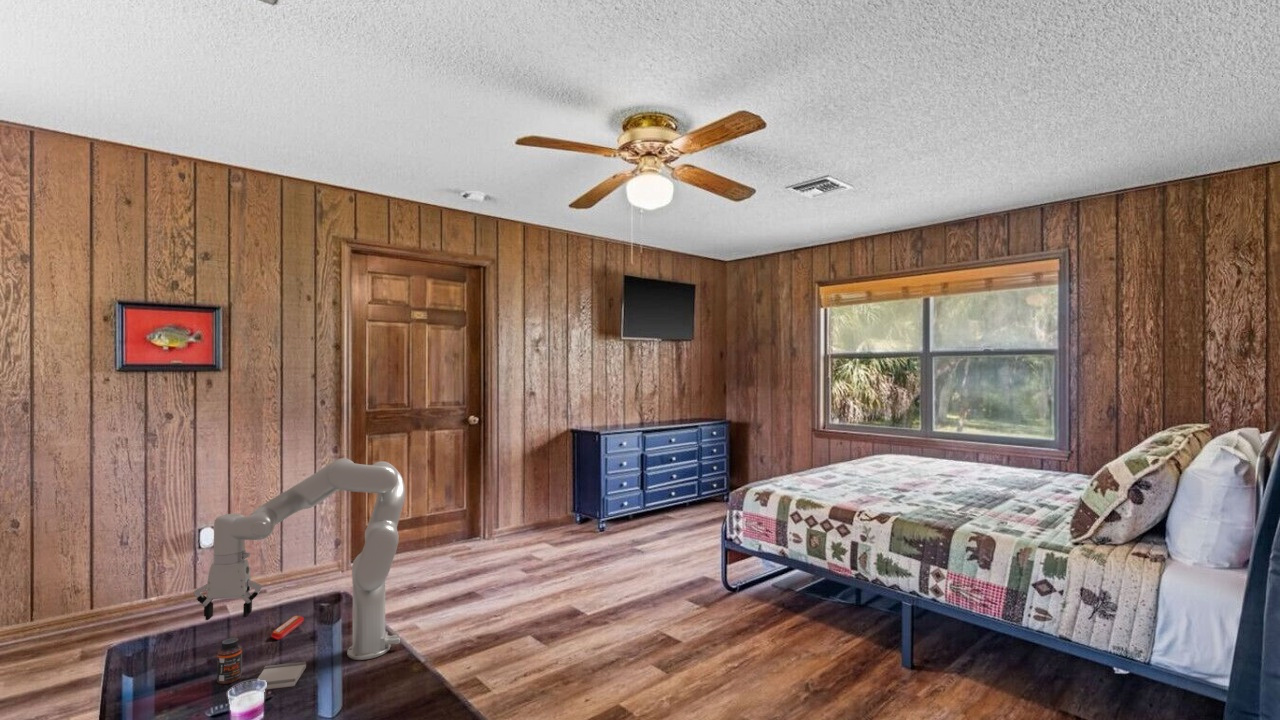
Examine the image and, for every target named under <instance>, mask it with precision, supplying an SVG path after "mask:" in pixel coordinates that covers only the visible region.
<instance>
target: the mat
mask: <svg viewBox="0 0 1280 720" xmlns="http://www.w3.org/2000/svg"><path fill="white" fill-rule="evenodd" d="M306 668H307V661H300V662H299V661H298V662H290V663H289V662H288V663H281V664H272V665H271V664H270V665H265V666H264V668H263V670H262V671H261V672H260V674H259V676H258V677H257V679H255V681H256V680H258V679H260V680H266V682H267V689H266V690H271V689H281V688H288V687H295V686H296V685H297V682H298V681H299V679H300V678H301V676H302V675H303V673H304V672H305V669H306Z"/></svg>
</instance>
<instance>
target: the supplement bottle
mask: <svg viewBox="0 0 1280 720" xmlns="http://www.w3.org/2000/svg"><path fill="white" fill-rule="evenodd" d="M216 659H217V661H216V662H217V663H216V665H217V667H216V668H217V669H216V672H217V673H216V682H217V684H220V685H227V684H232V683H235V682H236V681H238V680H240V679H241V677H242V671H243V670H242V667H243V647H242V645H240V644H239V638H237V637H229V638H227V639H224V640H222V642H221V648H219V650H218V652H217V658H216Z"/></svg>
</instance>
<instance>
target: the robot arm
mask: <svg viewBox="0 0 1280 720" xmlns="http://www.w3.org/2000/svg"><path fill="white" fill-rule="evenodd" d="M339 491H344V492H345V491H347V492H354V493H355V492H356V493H368V494H369V493H370V494H376V499H375V502H374V507H373V510H372V513H371V516H370V518H369V522H368V524H367V526H366V528H365V532H364V541H365V542H364V545H363V548H362V551H361V552H360V553H358V555H357V556H356V557H355V558H354V560H353V562H352V565H351V577H352V645H351V646H350V647H349V648H348V649H347V651H346V653H347V657H348V658H350V659H352V660H355V661H356V660H357V661H361V660H362V661H365V660H370V659H371V660H372V659H375V658H378V657H380V656H382V655H385V654H386V653H387V652H389V650H390V649H391V645H398V644H400V642H401V637H400V636H398V635H397V634H394V635H389V632H388V631H387V630H386V581H387V578H388V576H389V573H390V570H391V567H392V564H393V562H394V559H395V555H396V553H397V549H398V545H399V539H400V536H399V534H400V533H399V532H398V525H399V522H400V519H401V514H402V510H403V507H404V503H405V500H406V486H405V481H404V479H403V476H402V474H401V473H400V472H399V470H398V469H397V468H396V467H395V466H394V465H393V464H391V463H390V462H388V461H385V460H384V461H382V460H381V461H376V462H374V463H372V464H362V463H361V464H360V463H356V462H355V463H354V461H353V460H351V459H349V458H347V457H342V458H337V459H336V460H334V461H332V462H330V463H329V464H327V465H326V466H324V467H322V468H321V469H319V470H317V472H314V473H313V474H311V475H310V476H309V477H307V478H305V479H303V480H302V481H300V482H298V483H297V484H295V485H293V486H291V487H290V488H289V489H287V490H285V491H283V492H282V493H279V494H278V495H277V496H275V497H273V498H271V499H270V500H269V501H267V502H265V503H264V504H262V505H261V506H259V507H257V508H256V509H254V510H253V511H252V512H251V513H250V514H249V515H248V516H247V515H246V516H245V515H244V514H241V513H228V514H222V515H219V516H217V517H216V518H215V520H214V522H213V523H214V524H213V562H212V563H210V567H209V571H208V574H207V576H208V577H207V582H206V583H205V584H204V585H202V586H200V587H198V588H197V589H195V590H194V591H193V594H194V596H195V597H196V600H197V601H198V602H199V603H200V604H201V606H202V607H203V617H205V618H204V620H205V621H209V620H210V619H211V618H212V617H213V616H214V603H213V602H212V601H213V600H224V599H225V600H227V599H237V598H241V599H242V600H243V602H244V603H243V615H242V617H243V618H247V617H248V616H249V615H250V614H251V613H252V611H253V600H255V599H256V598H257V596H258V595H260V592H261V591H262V589H263V587H264V586H263V584H261V583H258V582H255V581H253V580H252V579H251V569H250V563H249V560H248V559H247V558H250V557H251V553H250V552H247V551H246V549H245V548H246V547H245V546H246V540H247V541H260V540H265V539H266V538H268V537H270V536H271V535H272V533H273V532H274V529H275V527H276V526H277V525H278V524H279V523H281V522H282V521H284V520H285V519H288V517H291V516H292V515H294V514H296V513H298V512H300V511H302V510H307V509H311V508H313V507H315V506H317V505H320V503H322V502H323V501H326V499H327V498H329V497H331V496H332V495H334V494H336V493H337V492H339ZM251 589H253V590H254V591H253V593H251V592H250V591H251ZM204 591H206V596H205V594H203V592H204Z"/></svg>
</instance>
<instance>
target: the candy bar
mask: <svg viewBox="0 0 1280 720" xmlns="http://www.w3.org/2000/svg"><path fill="white" fill-rule="evenodd" d="M304 621H305V618H304V617H303V616H301V615H294V616H292V617H290V618H289V619H288V620H287V621H285V622H284V623H283V624H281V625H279V626H278V627H277V628H276V629H274V630H273V631H272V633H271V635H270V638H272V639H274V640H277V641H279V640H282V639H283V638H284V637H286V636H287V635H289V634H290V633H291V632H293V631H294V630H295V629H296V628H298V627H299V626H300V625H301V624H302V623H303V622H304Z"/></svg>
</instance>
